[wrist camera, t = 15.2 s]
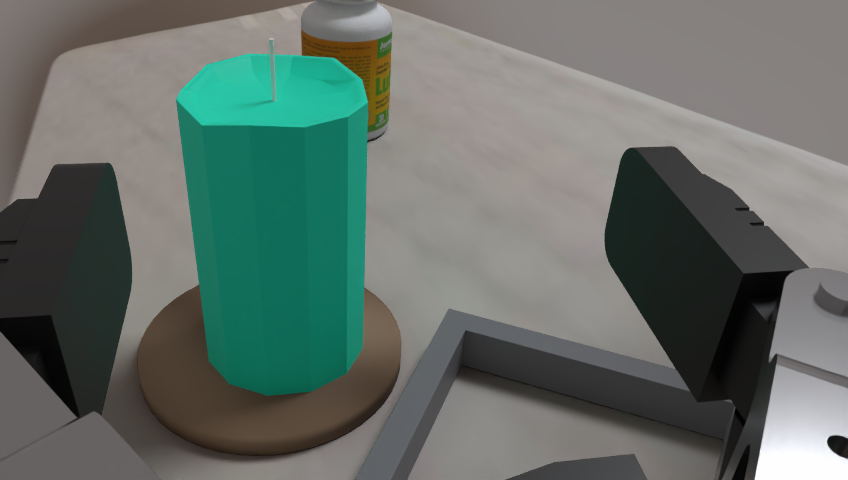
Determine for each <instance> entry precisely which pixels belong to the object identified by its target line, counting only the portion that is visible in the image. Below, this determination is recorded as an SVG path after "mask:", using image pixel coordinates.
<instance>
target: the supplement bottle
mask: <svg viewBox="0 0 848 480" xmlns="http://www.w3.org/2000/svg"><path fill="white" fill-rule="evenodd" d="M301 42H302V56H313V57H328V58H335V59H337V60H338V61H339V62H340V63H342V64H343V65H344V66H345V67H347V68H348V69H349V70H351V71H352V72H353V73H354V74H356V75H357V76H358V77H360V78H361V79H362V81H363V85H364V89H365V93H366V96H367V100H368V131H367V140H370V139H373V138H376V137H378V136H380V135H381V134H383V133H384V132H385V130H386V129H387V127H388V120H389V96H390V73H391V43H392V19H391V16H390V14H389V13H388V11H387V10H386V9H385V8H384V7H382V6H381V5H379V4H377V0H316V2H314V3H312V4H310V5H309V6H308V7H307V8H306V9H305V10H304V12H303V14H302V17H301Z"/></svg>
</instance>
